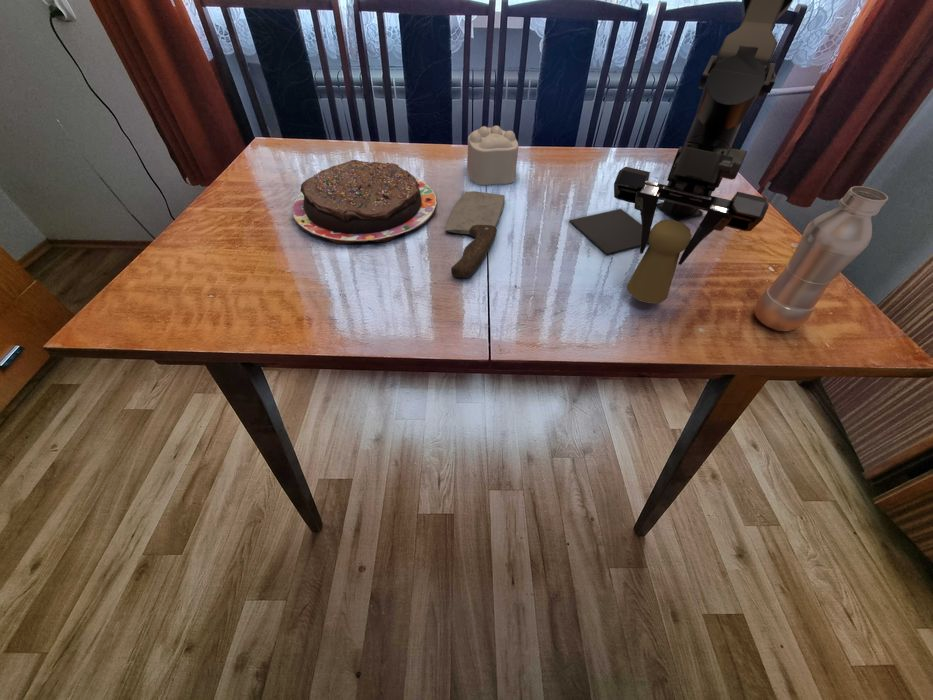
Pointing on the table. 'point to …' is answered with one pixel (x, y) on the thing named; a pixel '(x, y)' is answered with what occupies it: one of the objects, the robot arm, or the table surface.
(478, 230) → the cleaver
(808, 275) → the plastic bottle
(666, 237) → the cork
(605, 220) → the dark square mat
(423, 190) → the chocolate cake
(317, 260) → the table surface
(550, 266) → the table surface
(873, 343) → the table surface
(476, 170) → the lumpy-topped squat cylinder
